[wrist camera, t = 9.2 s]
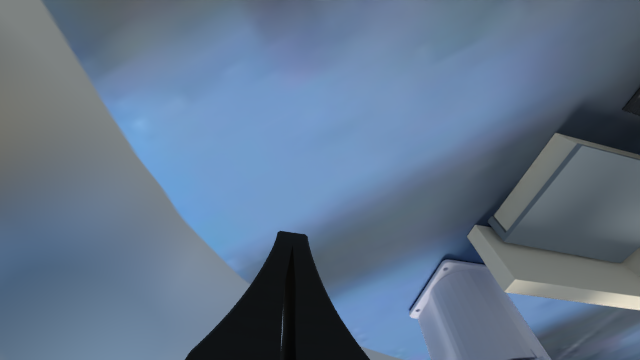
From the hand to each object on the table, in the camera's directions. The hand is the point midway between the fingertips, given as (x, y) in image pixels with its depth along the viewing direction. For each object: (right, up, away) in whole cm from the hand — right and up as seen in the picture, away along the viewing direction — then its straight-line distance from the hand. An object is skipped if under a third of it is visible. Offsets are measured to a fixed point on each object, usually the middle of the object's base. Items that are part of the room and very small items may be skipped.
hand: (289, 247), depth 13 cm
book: (+24, +2, +11) cm, 26 cm away
